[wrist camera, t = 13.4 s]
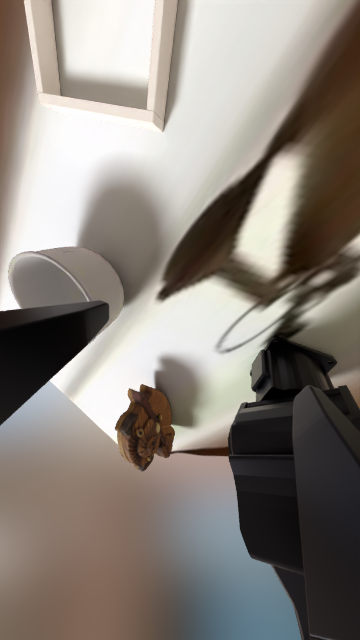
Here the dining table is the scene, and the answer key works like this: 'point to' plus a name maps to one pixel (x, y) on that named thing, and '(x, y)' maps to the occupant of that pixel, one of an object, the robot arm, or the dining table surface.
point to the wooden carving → (145, 427)
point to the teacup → (65, 279)
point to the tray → (50, 97)
